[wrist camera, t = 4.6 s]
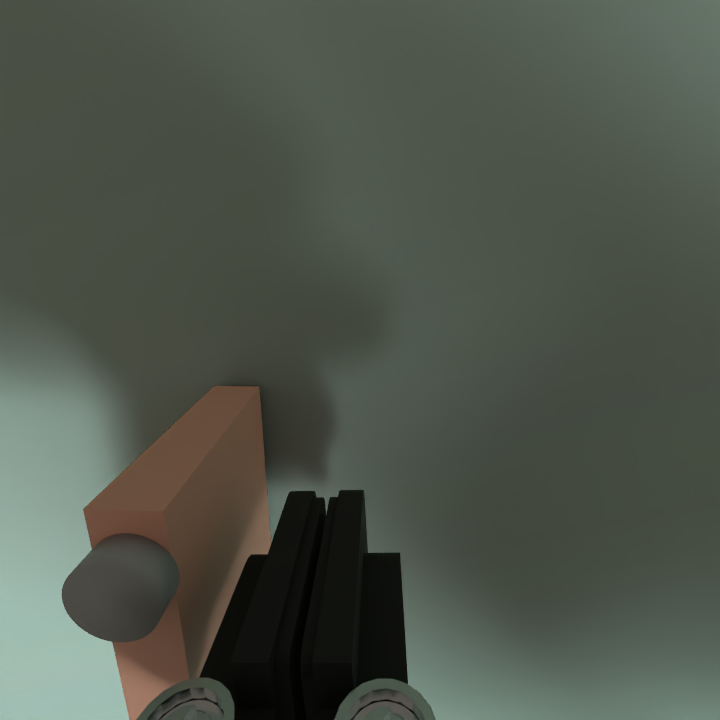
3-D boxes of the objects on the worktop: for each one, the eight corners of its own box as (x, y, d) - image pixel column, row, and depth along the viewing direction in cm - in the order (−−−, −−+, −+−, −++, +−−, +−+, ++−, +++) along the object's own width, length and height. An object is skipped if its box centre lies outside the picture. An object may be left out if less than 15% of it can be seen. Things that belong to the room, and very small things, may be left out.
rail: (291, 719, 15) (228, 1058, 9) (245, 717, 15) (153, 1052, 9) (268, 384, 11) (138, 565, 5) (208, 383, 11) (11, 561, 5)
